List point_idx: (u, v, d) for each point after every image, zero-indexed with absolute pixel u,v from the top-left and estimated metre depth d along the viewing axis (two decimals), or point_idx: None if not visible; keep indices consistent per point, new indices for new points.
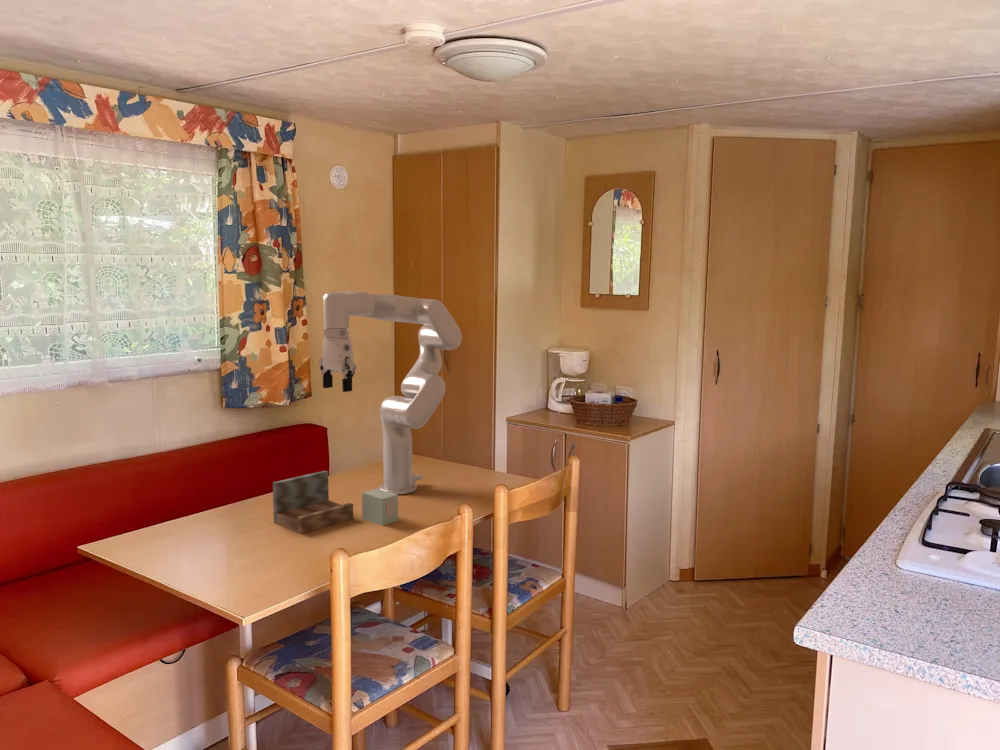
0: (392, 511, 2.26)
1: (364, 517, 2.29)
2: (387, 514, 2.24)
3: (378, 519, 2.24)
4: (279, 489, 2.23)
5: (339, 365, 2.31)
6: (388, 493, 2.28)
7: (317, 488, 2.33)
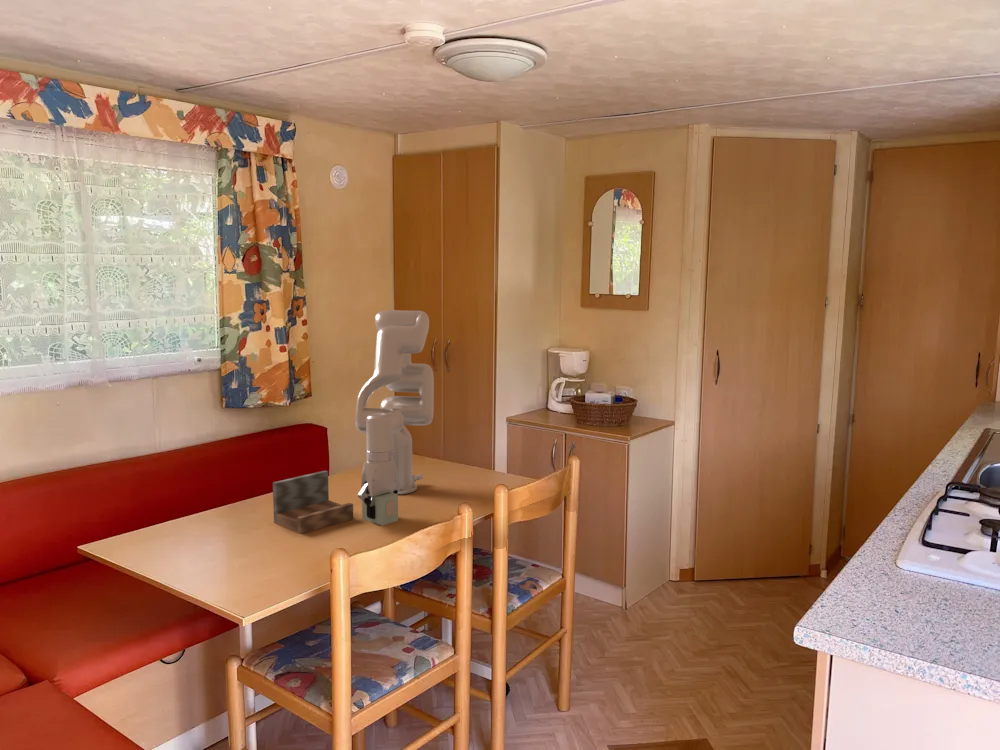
0: (392, 511, 2.26)
1: (364, 517, 2.29)
2: (387, 514, 2.24)
3: (378, 519, 2.24)
4: (279, 489, 2.23)
5: (395, 484, 2.29)
6: (388, 493, 2.28)
7: (317, 488, 2.33)
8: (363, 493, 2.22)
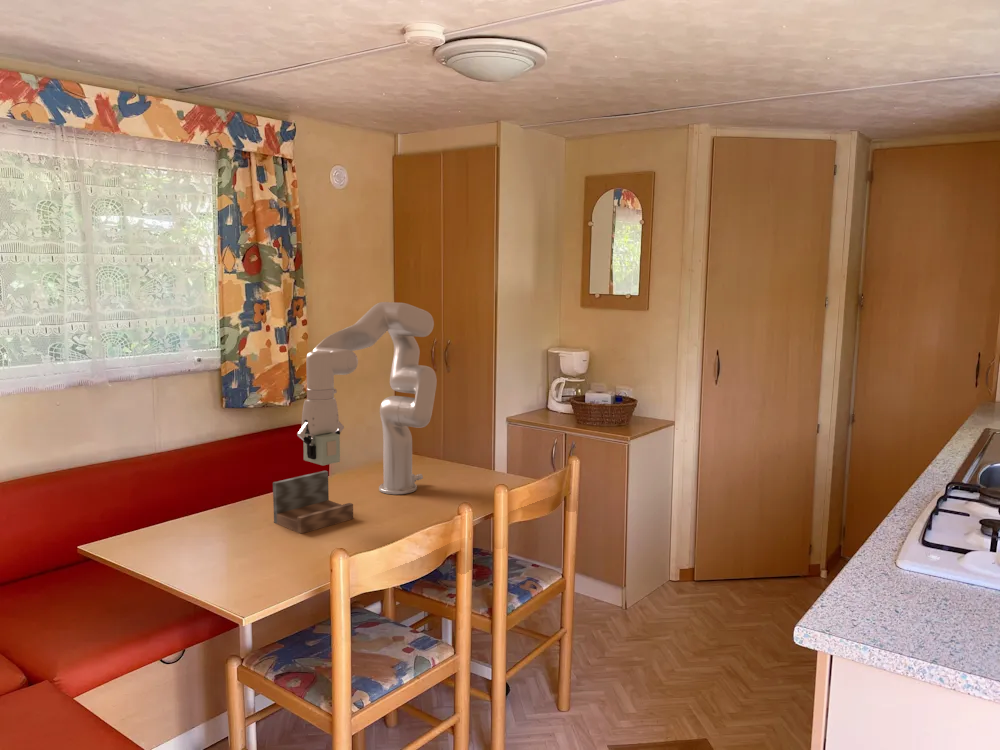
0: (333, 451, 2.20)
1: (305, 458, 2.23)
2: (328, 454, 2.19)
3: (319, 459, 2.19)
4: (279, 489, 2.23)
5: (336, 425, 2.23)
6: (330, 433, 2.22)
7: (317, 488, 2.33)
8: (303, 432, 2.17)
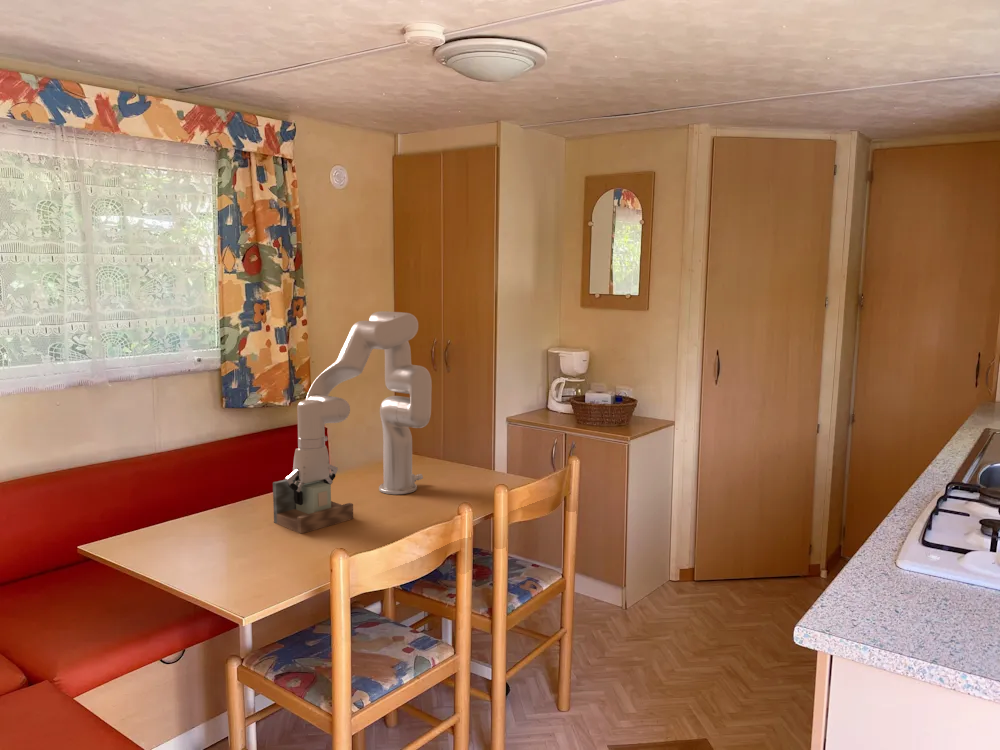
0: (325, 502, 2.24)
1: (297, 507, 2.27)
2: (319, 505, 2.23)
3: (310, 509, 2.23)
4: (279, 489, 2.23)
5: (328, 472, 2.27)
6: (321, 483, 2.26)
7: None
8: (291, 477, 2.20)
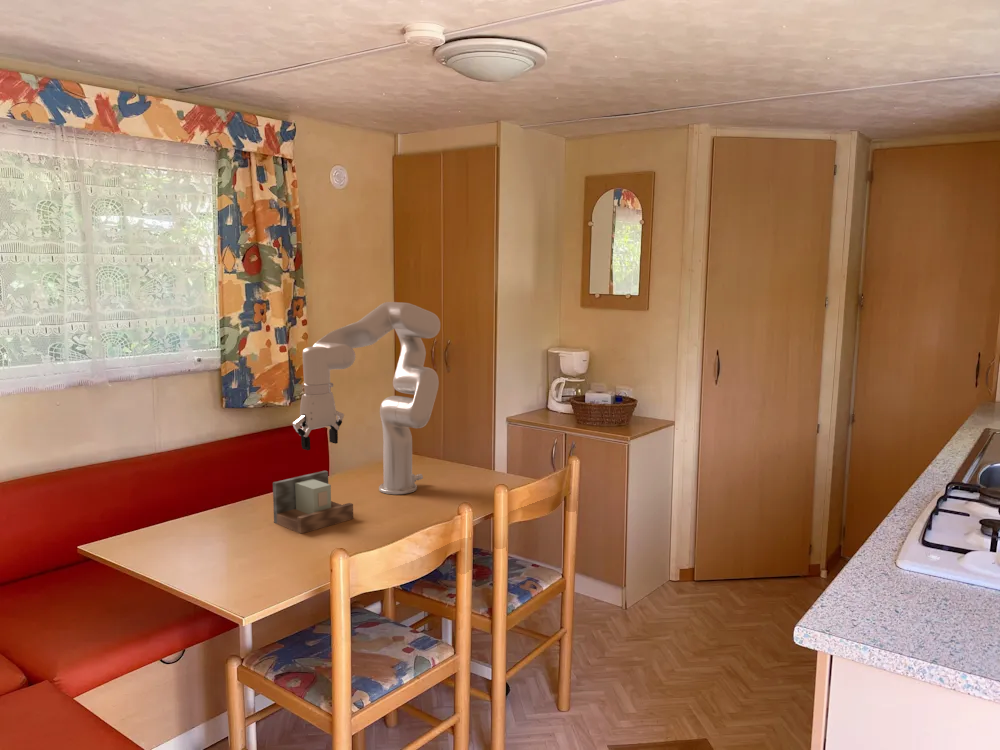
0: (325, 502, 2.24)
1: (297, 507, 2.27)
2: (319, 505, 2.23)
3: (310, 509, 2.23)
4: (279, 489, 2.23)
5: (334, 418, 2.29)
6: (321, 483, 2.26)
7: None
8: (298, 422, 2.21)
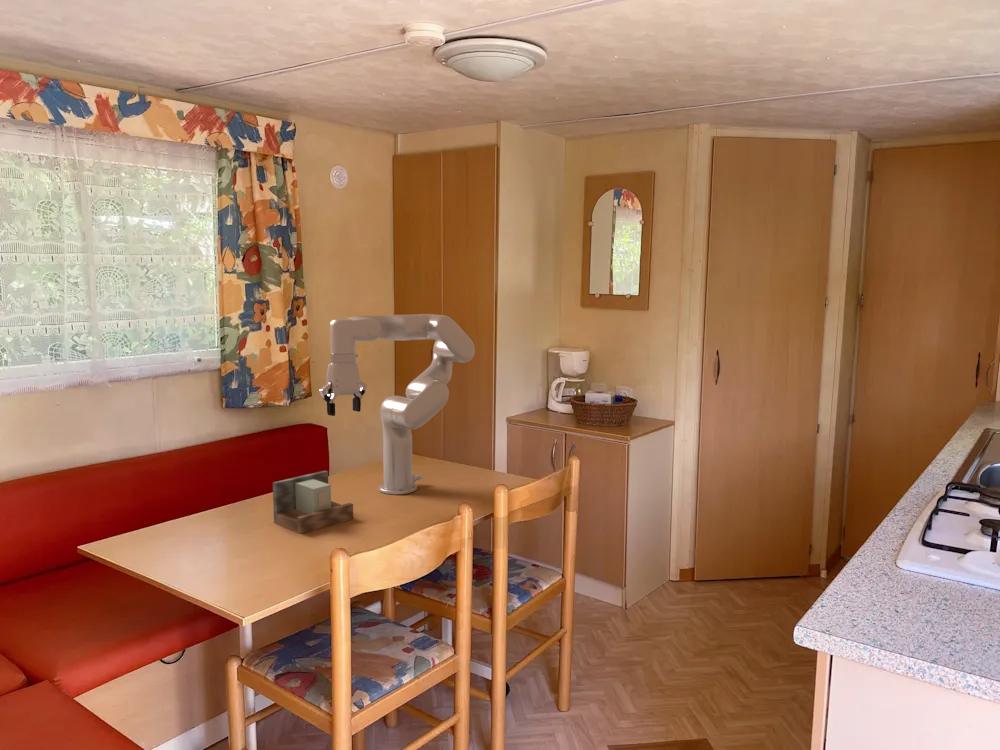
0: (325, 502, 2.24)
1: (297, 507, 2.27)
2: (319, 505, 2.23)
3: (310, 509, 2.23)
4: (279, 489, 2.23)
5: (358, 387, 2.43)
6: (321, 483, 2.26)
7: None
8: (325, 389, 2.35)
